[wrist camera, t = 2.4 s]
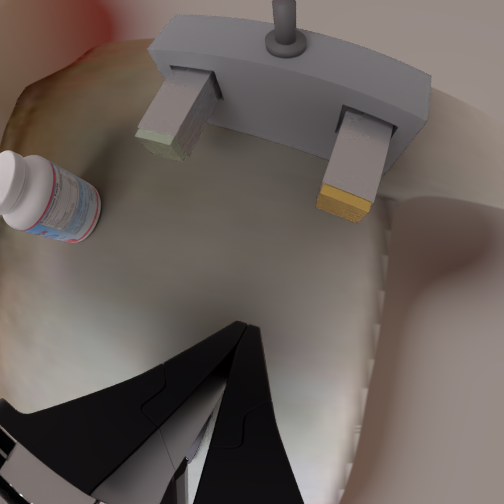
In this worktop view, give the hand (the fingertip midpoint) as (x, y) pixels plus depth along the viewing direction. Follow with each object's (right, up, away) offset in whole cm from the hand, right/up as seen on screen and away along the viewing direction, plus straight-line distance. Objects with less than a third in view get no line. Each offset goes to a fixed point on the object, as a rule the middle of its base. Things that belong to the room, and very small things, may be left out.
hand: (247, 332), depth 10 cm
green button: (-4, +13, +10) cm, 17 cm away
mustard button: (+7, +8, +8) cm, 14 cm away
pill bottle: (-17, +6, +16) cm, 24 cm away
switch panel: (+3, +14, +14) cm, 20 cm away
